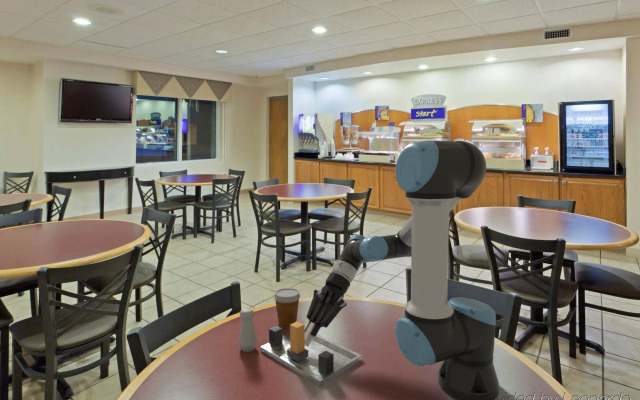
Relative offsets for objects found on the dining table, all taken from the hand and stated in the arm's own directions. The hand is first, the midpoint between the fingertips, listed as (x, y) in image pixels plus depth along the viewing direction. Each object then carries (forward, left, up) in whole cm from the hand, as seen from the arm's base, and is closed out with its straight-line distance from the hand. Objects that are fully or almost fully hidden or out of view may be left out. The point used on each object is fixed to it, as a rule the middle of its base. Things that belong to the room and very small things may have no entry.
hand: (304, 344), depth 115 cm
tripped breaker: (0, +3, -3) cm, 4 cm away
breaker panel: (0, -2, -5) cm, 5 cm away
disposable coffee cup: (+21, -11, -5) cm, 24 cm away
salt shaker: (+17, +9, -5) cm, 20 cm away
